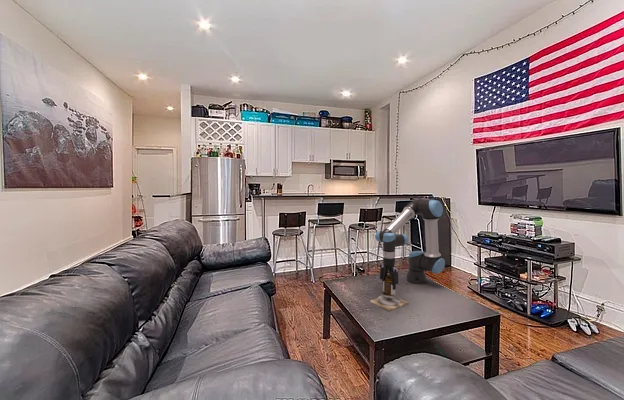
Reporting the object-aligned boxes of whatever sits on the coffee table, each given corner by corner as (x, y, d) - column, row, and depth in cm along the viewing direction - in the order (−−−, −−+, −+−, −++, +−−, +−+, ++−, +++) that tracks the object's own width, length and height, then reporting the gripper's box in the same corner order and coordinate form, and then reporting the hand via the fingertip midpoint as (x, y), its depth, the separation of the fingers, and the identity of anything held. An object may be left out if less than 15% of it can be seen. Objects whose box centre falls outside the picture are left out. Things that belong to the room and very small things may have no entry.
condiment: (397, 294, 182) (397, 276, 181) (388, 297, 177) (388, 278, 176) (388, 290, 188) (388, 273, 187) (379, 293, 183) (379, 275, 182)
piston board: (389, 295, 194) (389, 291, 194) (408, 303, 181) (408, 299, 181) (370, 302, 185) (370, 298, 184) (388, 311, 171) (388, 307, 171)
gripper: (374, 255, 186) (374, 289, 188) (396, 261, 171) (396, 298, 172) (382, 253, 191) (381, 286, 192) (405, 259, 175) (404, 296, 176)
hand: (388, 292), depth 182 cm, fingers closed on condiment, 6 cm apart
